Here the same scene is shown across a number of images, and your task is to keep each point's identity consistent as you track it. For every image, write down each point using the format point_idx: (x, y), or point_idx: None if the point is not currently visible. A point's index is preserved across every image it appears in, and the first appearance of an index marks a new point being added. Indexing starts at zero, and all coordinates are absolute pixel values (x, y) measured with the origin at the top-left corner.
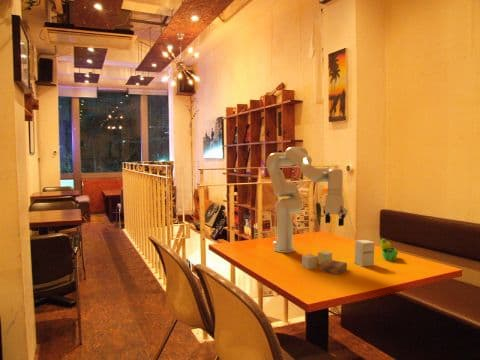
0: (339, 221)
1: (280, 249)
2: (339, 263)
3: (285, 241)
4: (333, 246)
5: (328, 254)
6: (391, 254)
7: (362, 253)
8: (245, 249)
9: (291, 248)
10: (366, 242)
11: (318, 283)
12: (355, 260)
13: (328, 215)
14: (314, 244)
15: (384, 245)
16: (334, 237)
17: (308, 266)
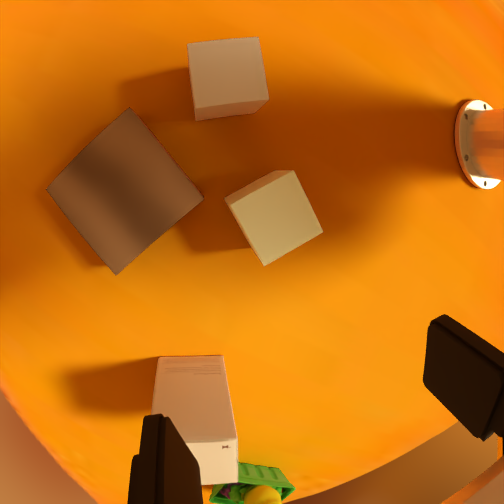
0: (139, 472)
1: (475, 112)
2: (110, 225)
3: (498, 126)
4: None
5: (240, 222)
6: (218, 486)
7: (154, 398)
8: (493, 31)
9: (474, 161)
10: None
11: (11, 54)
12: (214, 363)
13: (495, 417)
14: (489, 305)
15: (250, 501)
16: None
17: (188, 65)
